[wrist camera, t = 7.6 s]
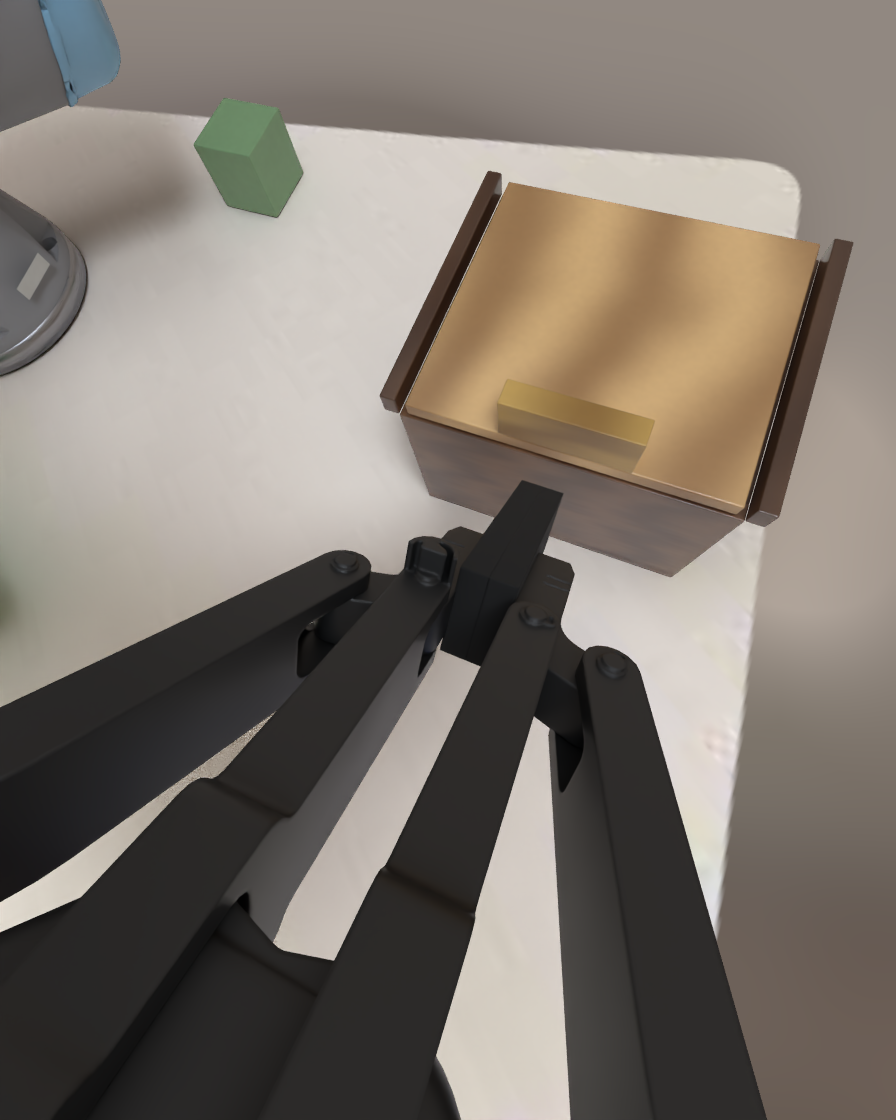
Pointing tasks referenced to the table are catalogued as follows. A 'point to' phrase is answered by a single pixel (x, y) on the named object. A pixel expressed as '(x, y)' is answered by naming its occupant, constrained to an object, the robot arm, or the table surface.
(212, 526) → the table surface
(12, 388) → the table surface
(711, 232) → the sliding lid
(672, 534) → the walnut box
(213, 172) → the block
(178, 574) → the table surface
